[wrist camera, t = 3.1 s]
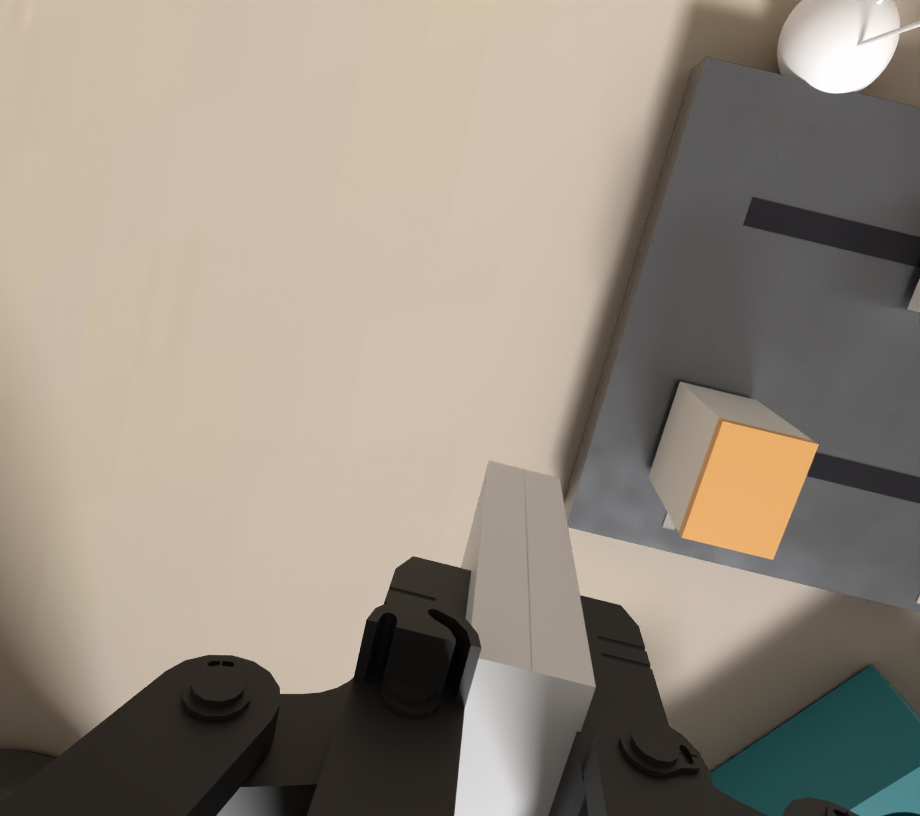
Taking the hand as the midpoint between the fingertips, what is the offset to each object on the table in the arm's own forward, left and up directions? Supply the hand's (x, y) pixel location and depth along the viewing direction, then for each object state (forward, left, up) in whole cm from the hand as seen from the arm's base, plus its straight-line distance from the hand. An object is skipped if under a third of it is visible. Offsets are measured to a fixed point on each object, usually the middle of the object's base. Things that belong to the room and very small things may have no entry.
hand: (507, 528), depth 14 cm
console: (+16, +4, -15) cm, 23 cm away
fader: (+8, 0, -13) cm, 15 cm away
